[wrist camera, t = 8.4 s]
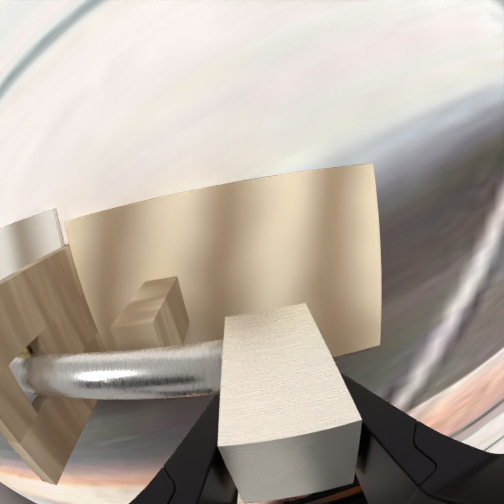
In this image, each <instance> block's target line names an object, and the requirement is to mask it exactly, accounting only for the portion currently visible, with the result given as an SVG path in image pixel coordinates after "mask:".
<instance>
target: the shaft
mask: <svg viewBox="0 0 504 504" xmlns="http://www.w3.org/2000/svg"><path fill="white" fill-rule="evenodd" d="M9 367H10V369H11V371H12V373H13V375H14V377H15V378H16V380H17V382H18V384H19V385H20V387H21V389H22V390H23V392H24V393H26V394H34V395H43V396H54V397H66V398H84V399H157V398H175V397H189V396H201V395H211V394H220V407H219V427H218V449H219V451H220V453H221V455H222V458H223V460H224V462H225V464H226V466H227V468H228V471H229V473H230V475H231V477H232V479H233V481H234V483H235V485H236V487H237V489H238V491H239V493H240V495H241V497H242V499H243V501H244V503H251V502H261V501H269V500H276V499H283V498H289V497H295V496H301V495H306V494H311V493H315V492H320V491H324V490H329V489H333V488H337V487H340V486H344V485H348V484H351V483H353V481H354V475H355V469H356V463H357V456H358V449H359V442H360V433H361V425H362V418H361V416H360V414H359V412H358V410H357V408H356V406H355V404H354V402H353V399H352V397H351V395H350V393H349V391H348V389H347V387H346V385H345V383H344V381H343V379H342V376H341V374H340V372H339V370H338V368H337V366H336V364H335V362H334V360H333V358H332V356H331V354H330V352H329V350H328V348H327V346H326V344H325V342H324V340H323V338H322V336H321V333H320V331H319V329H318V327H317V325H316V323H315V321H314V319H313V317H312V315H311V313H310V311H309V309H308V307H307V305H306V303H303V304H298V305H293V306H287V307H282V308H276V309H271V310H265V311H260V312H254V313H248V314H242V315H236V316H230V317H225V326H224V339H222V340H215V341H207V342H200V343H192V344H184V345H175V346H166V347H156V348H146V349H135V350H122V351H107V352H89V353H63V354H19V355H18V356H17V357H16V358H15V359H14V360H13V361H12V362H11V363H10V364H9Z"/></svg>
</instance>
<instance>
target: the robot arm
mask: <svg viewBox="0 0 504 504" xmlns="http://www.w3.org/2000/svg"><path fill="white" fill-rule="evenodd" d="M340 374H341V376H342V379H343V381H344V383H345V385H346V387H347V389H348V391H349V393H350V395H351V397H352V399H353V402H354V404H355V406H356V408H357V410H358V412H359V414H360V416H361V418H362V425H361V433H360V442H359V449H358V456H357V463H356V469H355V475H354V481H353V483H351V484H348V485H344V486H340V487H337V488H333V489H329V490H324V491H320V492H315V493H311V494H306V495H304V497H303V498H299V499H295V500H287V501H283V504H504V454H494V453H489V452H485V451H483V450H480V449H477V448H475V447H472V446H469V445H467V444H464V443H462V442H459V441H457V440H454V439H452V438H450V437H448V436H445V435H443V434H441V433H439V432H437V431H435V430H433V429H432V428H430V427H428V426H426V425H424V424H423V423H421V422H419V421H417V420H416V419H414V418H413V417H411V416H409V415H408V414H406V413H404V412H403V411H401V410H399V409H398V408H396V407H395V406H393V405H391V404H390V403H388V402H387V401H385V400H383V399H382V398H380V397H379V396H377V395H375V394H374V393H372V392H371V391H369V390H368V389H366V388H365V387H363V386H361V385H360V384H358V383H357V382H355V381H354V380H352V379H351V378H349V377H348V376H346V375H345V374H343V373H340ZM219 407H220V394H217V395H216V396H215V397H214V398H213V400H212V401H211V403H210V404H209V405H208V407H207V408H206V410H205V411H204V412H203V414H202V415H201V416H200V418H199V419H198V421H197V422H196V423H195V425H194V426H193V427H192V429H191V430H190V432H189V433H188V434H187V436H186V437H185V438H184V440H183V441H182V442H181V444H180V445H179V446H178V448H177V449H176V450H175V452H174V453H173V454H172V456H171V457H170V458H169V459H168V461H167V462H166V463H165V465H164V466H163V467H164V468H161V470H160V471H159V472H158V473H157V475H156V476H155V477H154V478H153V480H152V481H151V482H150V483H149V484H148V485H147V487H146V488H145V489H144V490H143V491H142V492H141V493H140V494H139V495H138V496H137V497H136V498H135V499H134V500H133V501H131V502H130V503H129V504H237V499H238V489H237V487H236V485H235V483H234V481H233V479H232V477H231V475H230V473H229V471H228V468H227V466H226V464H225V462H224V460H223V458H222V455H221V453H220V451H219V449H218V427H219Z"/></svg>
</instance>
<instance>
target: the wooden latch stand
mask: <svg viewBox="0 0 504 504" xmlns="http://www.w3.org/2000/svg"><path fill="white" fill-rule="evenodd" d="M64 225H65V229H66V233H67V237H68V241H69V244H68V245H64V241H63V237H62V233H61V229H60V225H59V221H58V216H57V212H56V209H52V210H49V211H46V212H43V213H40V214H37V215H35V216H32V217H29V218H26V219H23V220H21V221H18V222H15V223H13V224H10V225H7V226H5V227H2V228H0V432H1V433H2V435H3V436H4V437H5V439H6V440H7V441H8V442H9V444H10V445H11V446H12V447H13V449H14V450H15V451H16V452H17V453H18V455H19V456H20V457H21V458H22V459H23V460H24V461H25V463H26V464H27V465H28V466H29V467H30V468H31V469H32V470H33V471H34V472H35V473H36V474H37V475H38V476H39V477H40V479H41V480H42V481H45V482H48V483H51V484H54V485H57V484H58V481H59V479H60V477H61V474H62V472H63V470H64V468H65V466H66V463H67V461H68V459H69V457H70V455H71V453H72V451H73V448H74V446H75V444H76V442H77V440H78V438H79V436H80V434H81V432H82V430H83V428H84V426H85V424H86V422H87V420H88V418H89V416H90V414H91V412H92V410H93V408H94V406H95V404H96V402H97V400H98V399H84V398H66V397H54V396H43V395H37V396H36V398H35V399H34V401H33V402H32V403H30V402H29V400H28V399H27V397H26V395H25V394H24V392H23V390H22V389H21V387H20V385H19V384H18V382H17V380H16V378H15V377H14V375H13V373H12V371H11V369H10V367H9V364H10V363H11V362H12V361H13V360H14V359H15V358H16V357H17V356H18V355H19V354H20V353H21V352H22V351H23V350H24V349H25V348H26V347H27V346H28V345H29V344H30V346H31V348H32V350H33V352H34V354H63V353H89V352H107V351H122V350H135V349H146V348H156V347H166V346H175V345H184V344H192V343H200V342H207V341H215V340H222V339H224V326H225V317H230V316H236V315H242V314H248V313H254V312H260V311H265V310H271V309H276V308H282V307H287V306H293V305H298V304H303V303H306V305H307V307H308V309H309V311H310V313H311V315H312V317H313V319H314V321H315V323H316V325H317V327H318V329H319V331H320V333H321V336H322V338H323V340H324V342H325V344H326V346H327V348H328V350H329V352H330V354H331V356H332V357H337V356H341V355H345V354H349V353H353V352H356V351H360V350H364V349H368V348H371V347H375V346H378V345H380V334H381V251H380V232H379V218H378V206H377V195H376V186H375V177H374V169H373V164H362V165H352V166H343V167H334V168H326V169H318V170H310V171H303V172H295V173H288V174H281V175H275V176H268V177H262V178H256V179H250V180H244V181H238V182H233V183H227V184H222V185H216V186H211V187H206V188H201V189H196V190H191V191H186V192H181V193H177V194H172V195H167V196H163V197H158V198H154V199H150V200H145V201H141V202H137V203H133V204H129V205H124V206H120V207H116V208H113V209H109V210H105V211H101V212H97V213H94V214H90V215H86V216H83V217H79V218H76V219H72V220H69V221H66V222H64Z"/></svg>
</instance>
